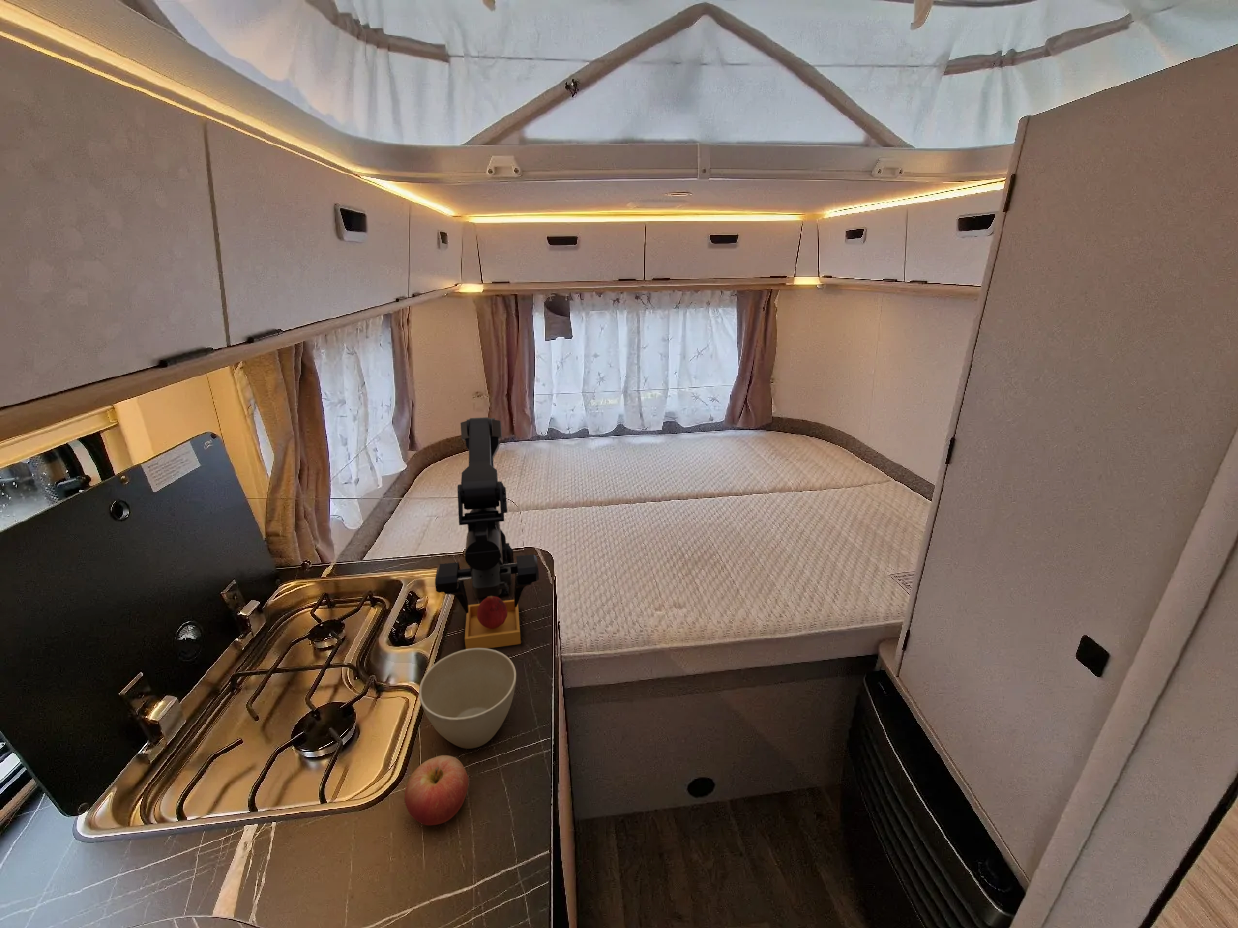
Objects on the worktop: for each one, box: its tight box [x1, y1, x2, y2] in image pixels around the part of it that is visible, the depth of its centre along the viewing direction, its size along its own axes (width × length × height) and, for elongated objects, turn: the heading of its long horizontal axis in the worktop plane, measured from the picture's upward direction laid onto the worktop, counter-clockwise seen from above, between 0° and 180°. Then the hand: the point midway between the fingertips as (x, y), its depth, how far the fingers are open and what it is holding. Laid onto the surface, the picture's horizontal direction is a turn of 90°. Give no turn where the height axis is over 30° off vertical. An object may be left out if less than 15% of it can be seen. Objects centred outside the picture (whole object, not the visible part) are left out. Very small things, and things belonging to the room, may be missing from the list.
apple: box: [404, 754, 470, 826], centre depth 69 cm, size 8×8×8 cm
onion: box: [477, 596, 508, 629], centre depth 102 cm, size 6×6×8 cm
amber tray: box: [464, 599, 522, 649], centre depth 103 cm, size 10×10×3 cm
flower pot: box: [418, 648, 517, 750], centre depth 80 cm, size 14×14×10 cm
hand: (491, 608), depth 101 cm, fingers open, 9 cm apart
